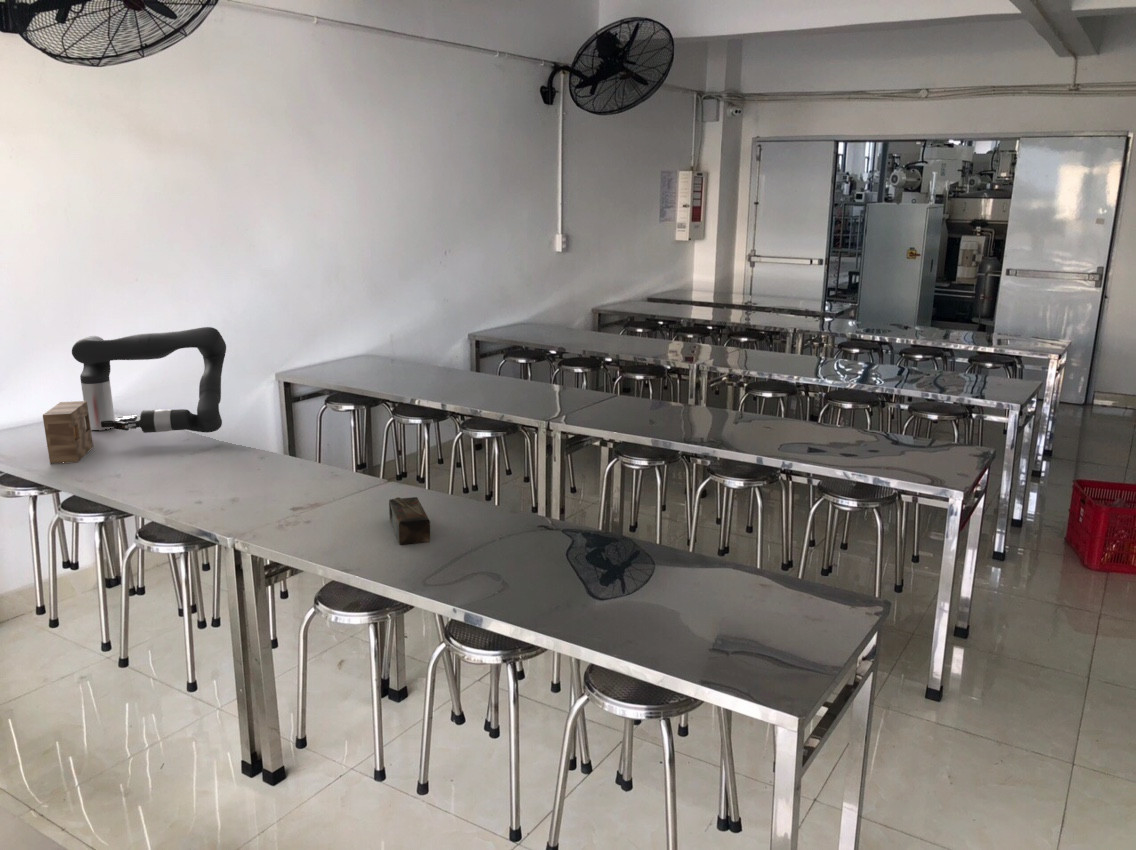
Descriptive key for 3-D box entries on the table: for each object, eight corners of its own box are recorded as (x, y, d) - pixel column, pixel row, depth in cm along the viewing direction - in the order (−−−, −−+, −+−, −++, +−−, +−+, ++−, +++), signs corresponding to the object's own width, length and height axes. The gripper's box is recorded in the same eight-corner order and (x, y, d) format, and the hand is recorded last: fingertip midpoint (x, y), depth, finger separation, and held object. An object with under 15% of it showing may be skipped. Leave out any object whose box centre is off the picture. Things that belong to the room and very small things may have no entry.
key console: (67, 448, 300) (60, 402, 296) (93, 447, 302) (86, 400, 298) (50, 464, 283) (42, 414, 279) (77, 462, 285) (70, 413, 281)
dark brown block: (419, 517, 238) (418, 493, 236) (431, 543, 220) (430, 518, 219) (389, 520, 236) (387, 496, 234) (399, 547, 218) (398, 521, 216)
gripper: (154, 436, 296) (97, 440, 292) (162, 426, 308) (108, 429, 304) (152, 414, 294) (94, 417, 290) (160, 405, 306) (105, 408, 303)
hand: (101, 423), depth 297 cm, fingers closed
